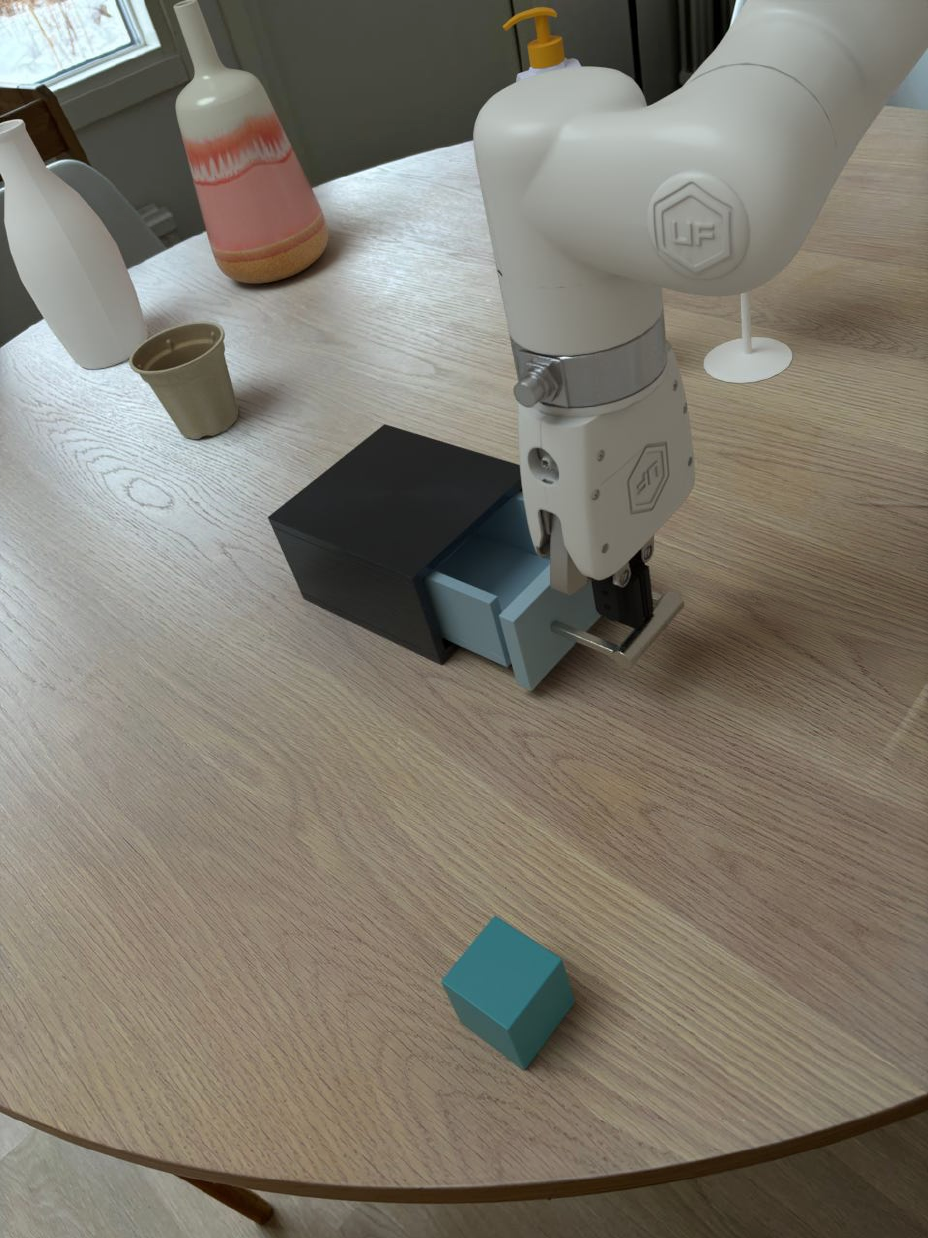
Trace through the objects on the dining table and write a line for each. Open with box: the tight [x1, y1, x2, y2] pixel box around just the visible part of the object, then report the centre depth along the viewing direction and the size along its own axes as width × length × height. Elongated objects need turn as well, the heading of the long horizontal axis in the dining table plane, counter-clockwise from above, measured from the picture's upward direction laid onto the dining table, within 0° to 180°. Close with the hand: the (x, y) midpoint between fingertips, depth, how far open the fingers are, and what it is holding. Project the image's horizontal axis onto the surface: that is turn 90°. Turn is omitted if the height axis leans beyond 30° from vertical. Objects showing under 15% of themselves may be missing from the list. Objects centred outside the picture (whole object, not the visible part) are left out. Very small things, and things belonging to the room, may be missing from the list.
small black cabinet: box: [267, 423, 523, 666], centre depth 74 cm, size 15×13×8 cm
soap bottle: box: [502, 6, 582, 83], centre depth 108 cm, size 9×7×23 cm
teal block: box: [440, 915, 576, 1071], centre depth 49 cm, size 4×4×4 cm
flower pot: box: [128, 321, 240, 440], centre depth 99 cm, size 9×9×9 cm
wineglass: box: [703, 291, 793, 384], centre depth 82 cm, size 8×9×20 cm
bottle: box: [0, 118, 149, 370], centre depth 111 cm, size 11×11×25 cm
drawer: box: [423, 491, 685, 692], centre depth 67 cm, size 20×11×6 cm, turn 50°
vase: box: [173, 0, 330, 285], centre depth 117 cm, size 14×14×30 cm
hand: (624, 613), depth 63 cm, fingers closed
